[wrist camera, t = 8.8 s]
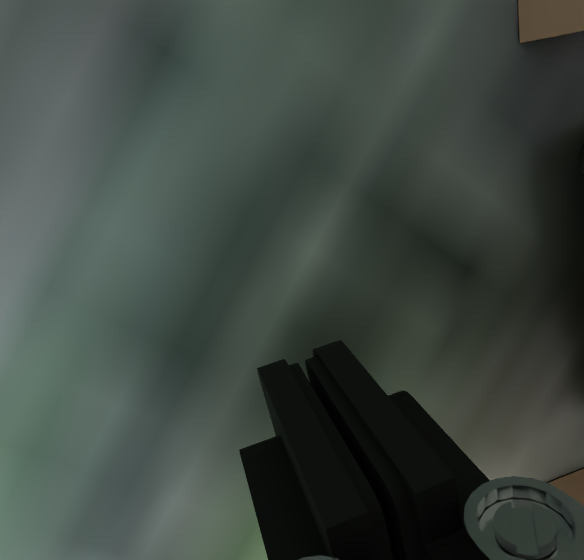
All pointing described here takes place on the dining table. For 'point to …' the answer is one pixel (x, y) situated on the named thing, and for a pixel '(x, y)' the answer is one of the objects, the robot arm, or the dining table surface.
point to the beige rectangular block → (582, 160)
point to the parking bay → (533, 26)
